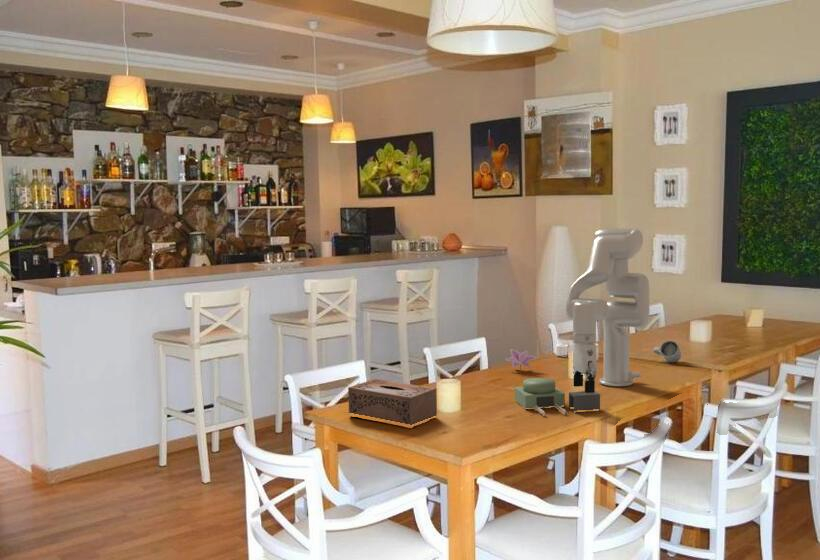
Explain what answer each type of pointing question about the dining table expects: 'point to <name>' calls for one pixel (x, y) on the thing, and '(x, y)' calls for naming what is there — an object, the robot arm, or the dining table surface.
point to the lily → (520, 358)
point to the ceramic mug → (669, 351)
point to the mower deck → (539, 394)
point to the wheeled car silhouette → (566, 347)
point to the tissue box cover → (393, 401)
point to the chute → (584, 400)
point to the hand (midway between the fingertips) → (583, 389)
